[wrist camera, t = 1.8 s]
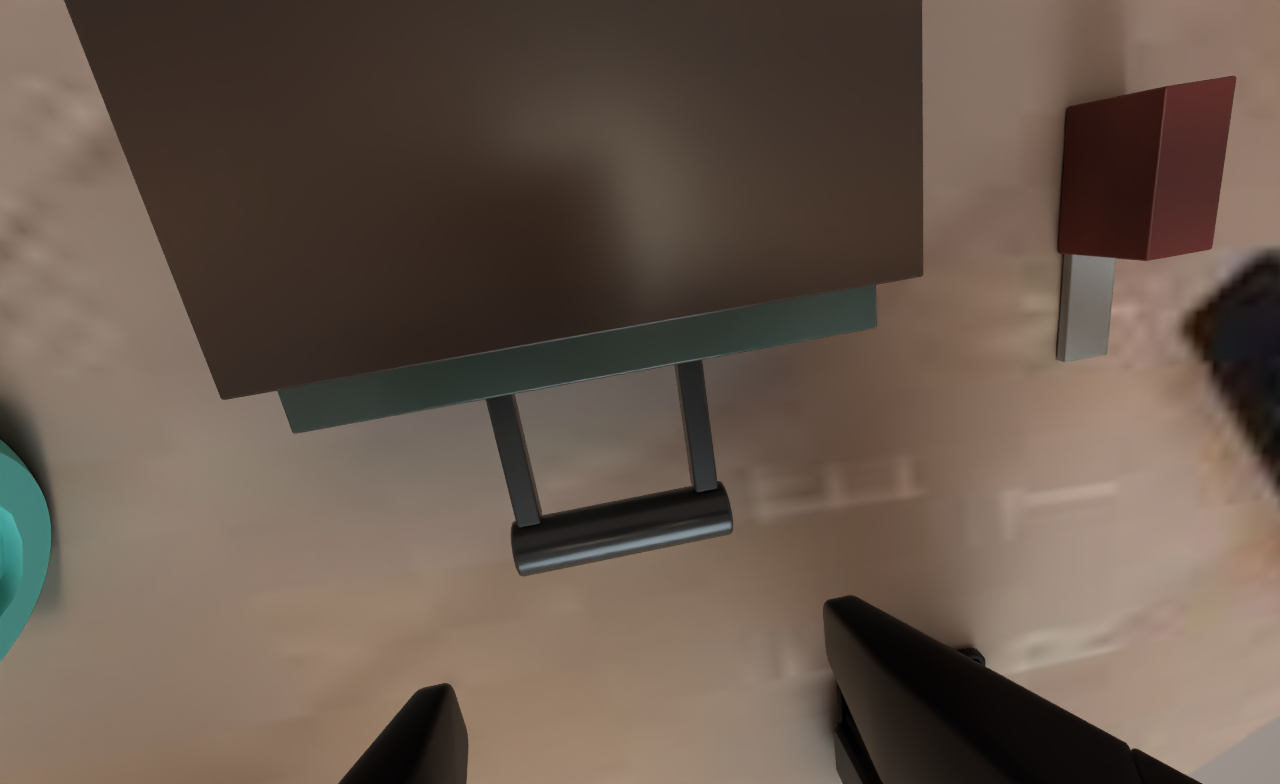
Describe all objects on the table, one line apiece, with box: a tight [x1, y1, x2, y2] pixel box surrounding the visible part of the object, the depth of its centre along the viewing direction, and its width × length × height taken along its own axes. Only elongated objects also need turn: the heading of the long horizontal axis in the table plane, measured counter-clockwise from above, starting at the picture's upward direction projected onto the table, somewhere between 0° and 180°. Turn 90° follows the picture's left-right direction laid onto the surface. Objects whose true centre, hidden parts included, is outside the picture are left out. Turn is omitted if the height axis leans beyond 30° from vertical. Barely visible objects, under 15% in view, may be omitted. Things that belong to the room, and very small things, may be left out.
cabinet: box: [64, 0, 923, 400], centre depth 14 cm, size 12×15×8 cm
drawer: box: [278, 285, 877, 576], centre depth 15 cm, size 15×13×6 cm
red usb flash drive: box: [1057, 76, 1236, 362], centre depth 19 cm, size 9×2×3 cm, turn 9°
